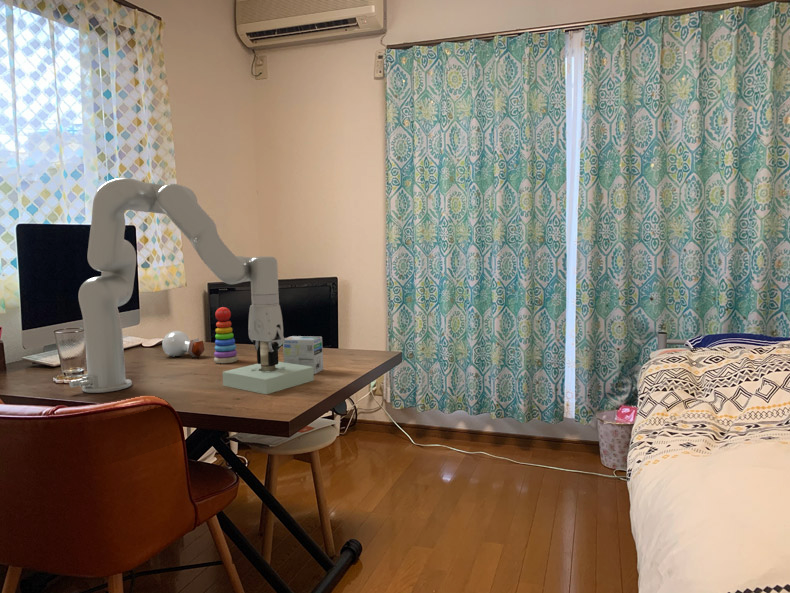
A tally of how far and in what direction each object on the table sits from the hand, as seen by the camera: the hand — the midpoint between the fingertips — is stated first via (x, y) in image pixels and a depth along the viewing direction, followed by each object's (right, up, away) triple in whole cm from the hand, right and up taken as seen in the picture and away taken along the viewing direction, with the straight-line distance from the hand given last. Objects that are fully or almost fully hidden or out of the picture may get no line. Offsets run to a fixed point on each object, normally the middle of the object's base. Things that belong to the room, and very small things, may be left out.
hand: (267, 363), depth 165 cm
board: (0, -6, +1) cm, 6 cm away
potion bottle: (-40, -3, +43) cm, 59 cm away
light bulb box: (+8, -4, +15) cm, 17 cm away
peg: (0, -4, 0) cm, 4 cm away
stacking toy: (-21, -3, +32) cm, 39 cm away
